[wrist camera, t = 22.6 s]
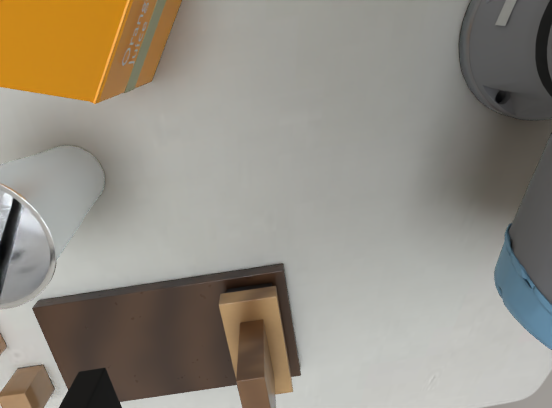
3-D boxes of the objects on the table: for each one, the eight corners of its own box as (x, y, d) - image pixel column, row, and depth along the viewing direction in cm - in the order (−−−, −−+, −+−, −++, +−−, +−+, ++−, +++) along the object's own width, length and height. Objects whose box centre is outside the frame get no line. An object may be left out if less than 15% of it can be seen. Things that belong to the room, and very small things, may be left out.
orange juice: (188, -12, 36) (114, -66, 17) (152, 82, 39) (56, 123, 20) (100, -59, 34) (-84, -174, 16) (69, 43, 37) (-118, 46, 19)
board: (283, 263, 46) (283, 270, 45) (299, 366, 52) (300, 375, 51) (38, 300, 47) (31, 308, 46) (80, 398, 53) (76, 408, 51)
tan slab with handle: (275, 277, 45) (280, 351, 35) (290, 369, 50) (299, 458, 40) (221, 285, 46) (209, 361, 35) (241, 376, 50) (237, 467, 40)
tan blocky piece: (24, 393, 46) (-4, 397, 46) (37, 419, 48) (10, 423, 48) (43, 364, 50) (17, 368, 50) (54, 389, 52) (29, 393, 52)
